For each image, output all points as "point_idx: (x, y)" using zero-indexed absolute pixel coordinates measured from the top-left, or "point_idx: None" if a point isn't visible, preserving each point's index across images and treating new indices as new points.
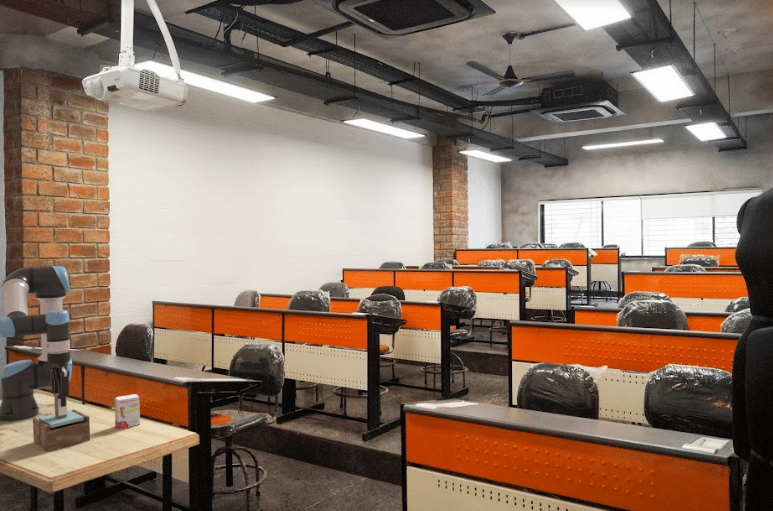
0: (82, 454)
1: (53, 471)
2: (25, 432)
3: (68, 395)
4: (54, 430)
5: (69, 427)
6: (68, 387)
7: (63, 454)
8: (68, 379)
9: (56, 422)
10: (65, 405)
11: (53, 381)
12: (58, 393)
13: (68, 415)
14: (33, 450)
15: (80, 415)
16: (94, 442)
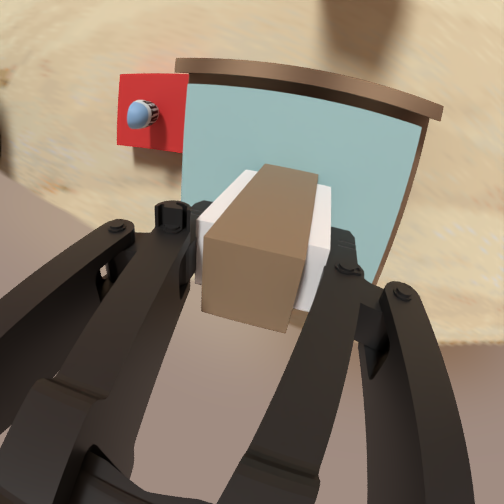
0: (498, 222)
1: (499, 325)
2: (89, 179)
3: (414, 294)
4: (381, 271)
5: (404, 206)
6: (443, 373)
7: (442, 246)
8: (469, 487)
9: (362, 264)
10: (350, 237)
11: (61, 349)
12: (226, 293)
13: (291, 148)
14: None
15: (369, 112)
16: (443, 112)
